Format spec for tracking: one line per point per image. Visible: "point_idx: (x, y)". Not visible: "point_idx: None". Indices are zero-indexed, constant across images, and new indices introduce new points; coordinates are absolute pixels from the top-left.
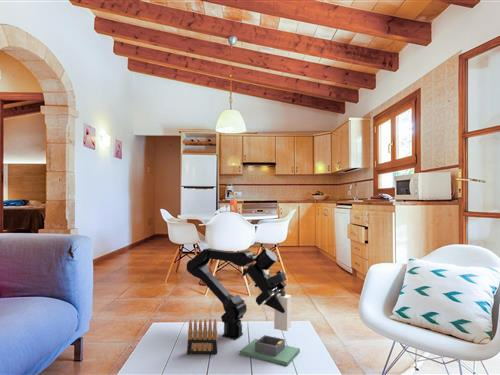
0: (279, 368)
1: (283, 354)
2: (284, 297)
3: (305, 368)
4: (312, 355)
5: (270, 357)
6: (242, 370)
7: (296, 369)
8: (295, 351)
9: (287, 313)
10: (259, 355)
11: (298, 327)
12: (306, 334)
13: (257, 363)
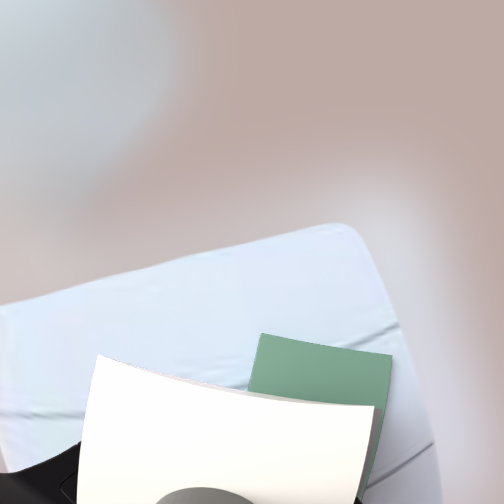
0: (406, 375)
1: (341, 387)
2: (355, 471)
3: (378, 297)
4: (276, 284)
5: (379, 422)
6: (437, 461)
7: (393, 323)
8: (298, 346)
9: (283, 397)
10: (372, 463)
11: (20, 342)
12: (74, 313)
13: (396, 451)
